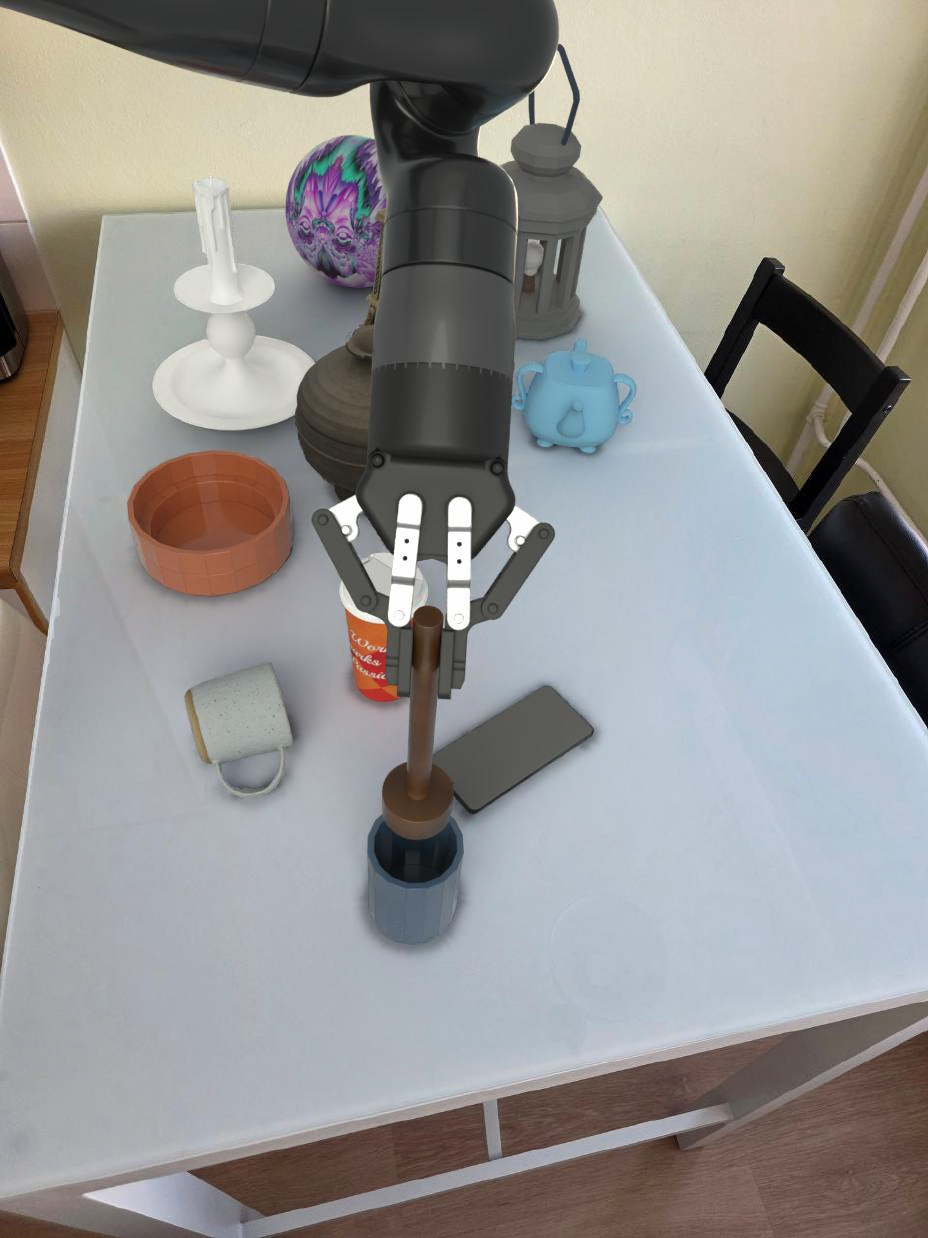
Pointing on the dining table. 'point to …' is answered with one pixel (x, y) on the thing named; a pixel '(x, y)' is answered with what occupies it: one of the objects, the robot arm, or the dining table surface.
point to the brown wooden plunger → (420, 744)
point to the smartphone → (511, 748)
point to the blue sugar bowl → (573, 399)
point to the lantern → (549, 221)
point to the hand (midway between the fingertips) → (424, 695)
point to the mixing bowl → (211, 522)
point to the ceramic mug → (240, 721)
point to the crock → (413, 881)
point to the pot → (338, 412)
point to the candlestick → (227, 336)
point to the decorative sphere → (338, 209)
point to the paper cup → (375, 629)
